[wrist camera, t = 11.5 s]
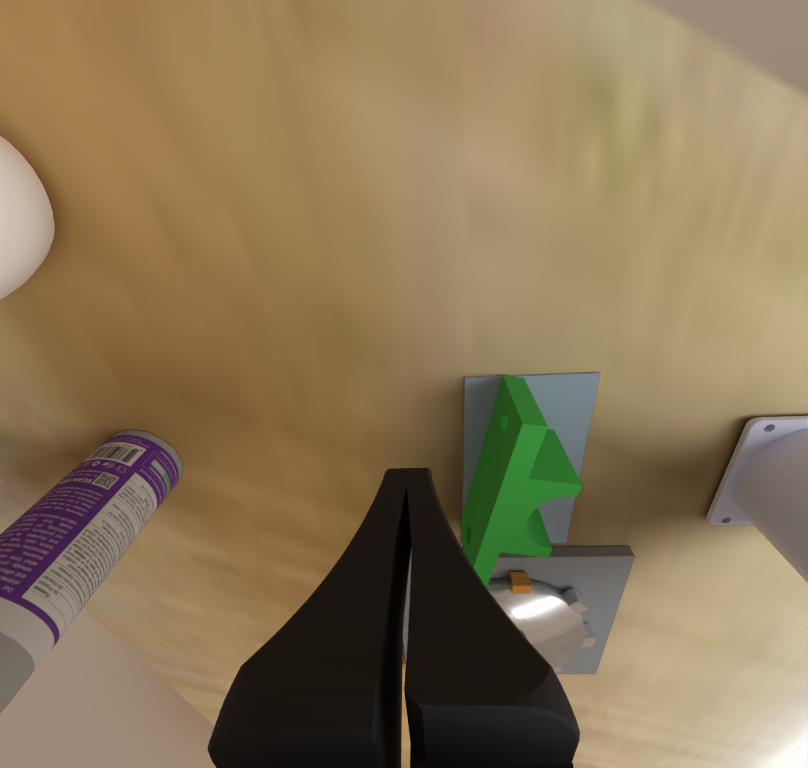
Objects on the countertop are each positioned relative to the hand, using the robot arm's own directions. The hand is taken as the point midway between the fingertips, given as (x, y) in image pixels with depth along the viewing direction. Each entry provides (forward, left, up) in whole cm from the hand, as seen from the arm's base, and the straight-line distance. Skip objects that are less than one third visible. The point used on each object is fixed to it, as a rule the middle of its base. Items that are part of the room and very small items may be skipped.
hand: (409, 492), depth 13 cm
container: (+17, +6, -10) cm, 20 cm away
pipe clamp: (-5, +7, -10) cm, 13 cm away
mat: (-6, +8, -9) cm, 14 cm away
